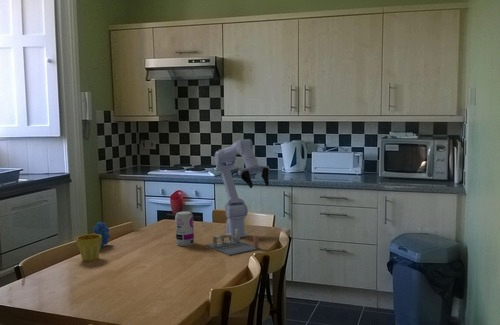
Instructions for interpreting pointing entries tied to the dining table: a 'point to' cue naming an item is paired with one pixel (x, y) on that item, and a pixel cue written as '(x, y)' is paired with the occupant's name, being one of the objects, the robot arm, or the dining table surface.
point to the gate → (223, 239)
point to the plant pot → (89, 246)
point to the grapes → (102, 232)
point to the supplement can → (184, 228)
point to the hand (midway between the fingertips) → (259, 185)
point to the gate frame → (236, 246)
